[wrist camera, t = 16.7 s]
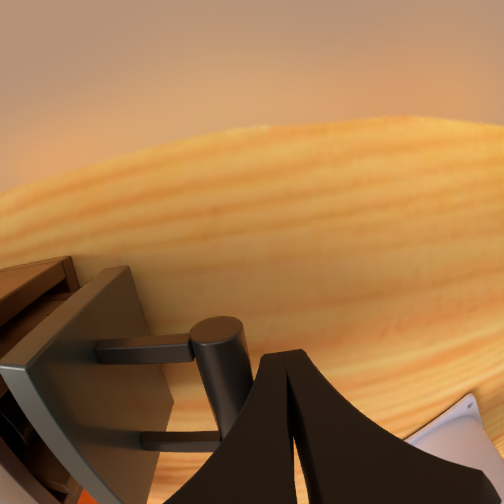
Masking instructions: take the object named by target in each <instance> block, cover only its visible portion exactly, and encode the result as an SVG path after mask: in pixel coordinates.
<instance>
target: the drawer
mask: <svg viewBox="0 0 504 504" xmlns="http://www.w3.org/2000/svg"><path fill="white" fill-rule="evenodd" d="M194 358H195V359H196V362H197V365H198V369H199V372H200V375H201V379H202V382H203V385H204V388H205V391H206V394H207V397H208V401H209V404H210V407H211V410H212V413H213V416H214V418H215V421H216V424H217V427H218V430H219V431H195V432H166V428H167V425H168V421H169V418H170V414H171V411H172V407H173V404H174V400H173V398H172V395H171V393H170V390H169V388H168V385H167V382H166V380H165V377H164V374H163V372H162V369H161V366H160V364H163V363H181V362H192V361H194ZM253 383H254V379H253V374H252V369H251V363H250V358H249V353H248V348H247V343H246V337H245V332H244V327H243V324H242V322H241V321H240V320H239V319H237V318H234V317H229V316H218V317H212V318H209V319H206V320H203V321H201V322H199V323H197V324H196V325H195V326H193V327H192V329H191V330H190V333H187V334H175V335H163V336H150V335H149V332H148V329H147V325H146V322H145V319H144V316H143V313H142V309H141V306H140V303H139V299H138V296H137V292H136V289H135V285H134V282H133V278H132V274H131V271H130V267H129V266H121V267H114V268H108V269H104V270H103V271H101V272H100V273H99V274H98V275H96V276H95V277H94V278H93V279H92V280H90V281H89V282H88V283H87V284H85V285H84V286H83V287H82V288H80V289H79V290H78V291H77V292H71V293H63V294H54V295H45V296H40V297H39V298H37V299H36V300H35V301H33V302H32V303H31V304H29V305H28V306H27V307H26V308H24V309H23V310H22V311H20V312H19V313H18V314H16V315H15V316H14V317H13V318H11V319H10V320H9V321H8V322H6V323H5V324H4V325H3V326H1V327H0V398H1V397H2V396H3V394H4V393H5V392H6V391H7V390H8V389H10V391H11V393H12V394H13V396H14V398H15V399H16V401H17V403H18V404H19V406H20V407H21V409H22V411H23V412H24V414H25V415H26V417H27V418H28V420H29V421H30V423H31V424H32V426H33V427H34V428H35V430H36V431H37V433H38V434H37V435H36V437H35V438H34V440H33V442H32V443H31V445H30V446H29V448H28V450H27V451H26V452H18V451H15V450H13V449H11V448H10V449H11V451H12V452H13V453H14V454H15V455H16V457H17V458H18V459H19V460H20V461H21V463H22V464H23V465H24V466H25V467H26V468H27V469H28V470H29V472H30V473H31V474H32V475H33V476H34V477H35V478H36V479H37V480H38V481H39V482H40V483H41V484H42V485H43V486H44V487H47V488H50V489H52V490H55V491H59V492H62V493H65V494H68V495H72V496H74V495H75V493H76V491H77V489H78V486H79V484H80V485H81V486H82V487H83V488H84V489H85V490H86V491H87V492H88V494H89V495H90V496H91V497H92V498H93V499H94V500H95V501H96V502H97V503H99V504H147V500H148V496H149V492H150V488H151V484H152V480H153V476H154V472H155V469H156V465H157V461H158V457H159V454H160V452H214V451H215V450H216V449H217V448H218V446H219V445H220V443H221V442H222V441H223V439H224V438H225V436H226V435H227V433H228V432H229V430H230V429H231V427H232V425H233V424H234V422H235V420H236V418H237V417H238V415H239V413H240V411H241V409H242V407H243V405H244V403H245V401H246V399H247V397H248V395H249V392H250V390H251V388H252V385H253Z"/></svg>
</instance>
